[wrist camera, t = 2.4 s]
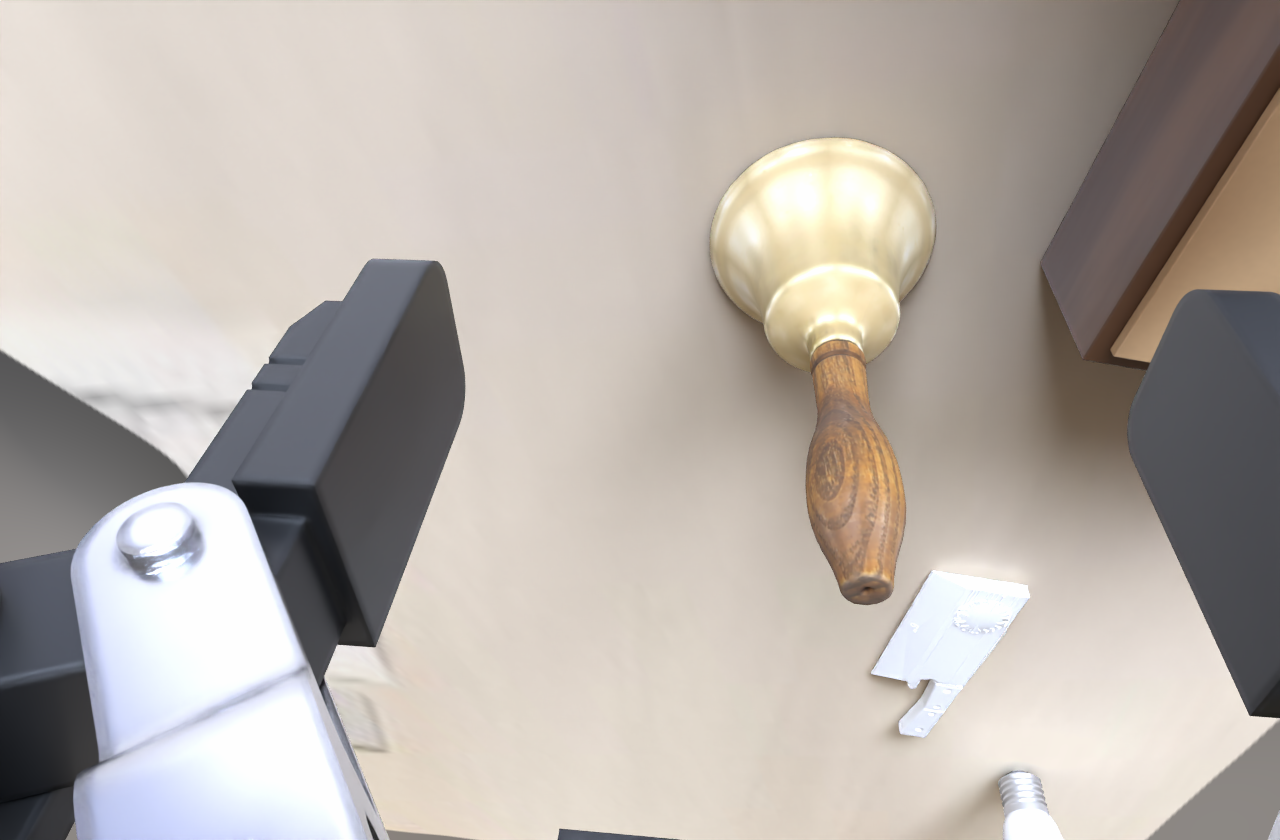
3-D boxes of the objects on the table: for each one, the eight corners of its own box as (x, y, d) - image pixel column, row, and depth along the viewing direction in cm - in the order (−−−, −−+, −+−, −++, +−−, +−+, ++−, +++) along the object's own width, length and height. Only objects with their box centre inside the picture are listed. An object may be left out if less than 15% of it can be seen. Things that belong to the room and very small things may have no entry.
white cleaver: (845, 712, 56) (846, 728, 55) (932, 567, 45) (935, 584, 45) (924, 726, 56) (926, 742, 55) (1029, 584, 45) (1033, 602, 45)
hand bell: (978, 174, 31) (1119, 521, 19) (875, 351, 36) (935, 704, 25) (753, 105, 30) (756, 427, 18) (683, 298, 35) (650, 639, 24)
